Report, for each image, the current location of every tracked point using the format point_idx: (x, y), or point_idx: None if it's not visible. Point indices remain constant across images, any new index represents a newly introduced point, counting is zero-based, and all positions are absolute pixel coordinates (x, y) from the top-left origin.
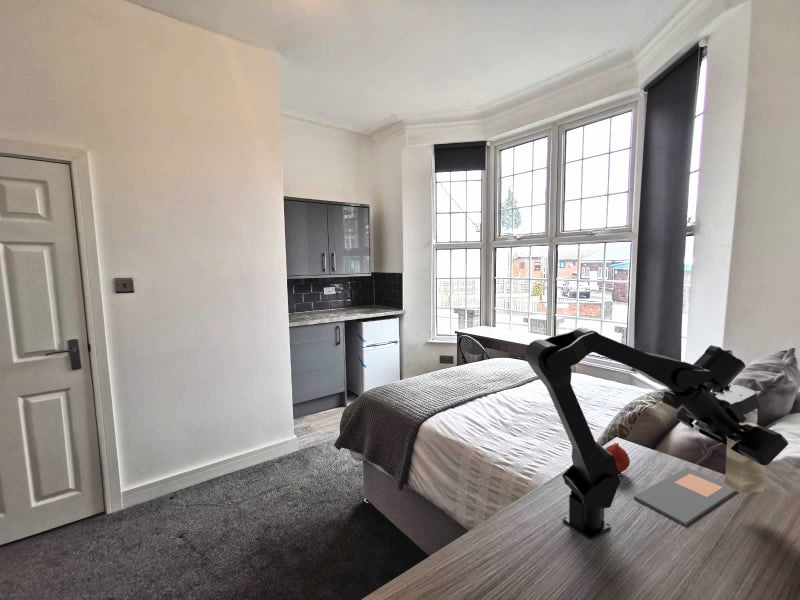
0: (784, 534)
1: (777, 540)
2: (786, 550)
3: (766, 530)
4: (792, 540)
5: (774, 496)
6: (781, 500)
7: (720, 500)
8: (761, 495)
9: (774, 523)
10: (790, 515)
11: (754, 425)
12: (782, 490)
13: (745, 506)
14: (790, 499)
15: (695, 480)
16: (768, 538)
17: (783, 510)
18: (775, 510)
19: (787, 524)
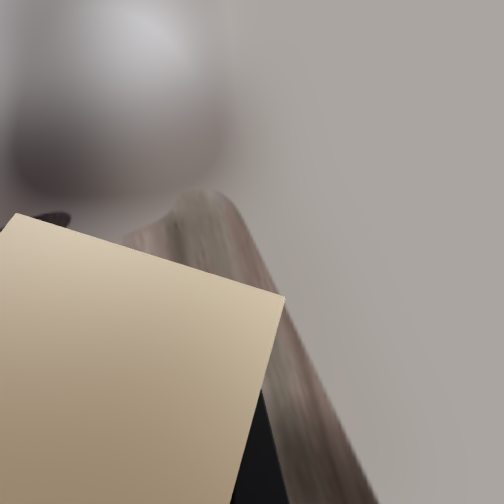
0: (313, 406)
1: (323, 462)
2: (358, 493)
3: (286, 437)
4: (335, 417)
5: (214, 236)
6: (230, 241)
7: None
8: (196, 259)
9: (276, 373)
10: (272, 292)
11: (93, 300)
12: (211, 194)
13: None
14: (237, 219)
15: None
16: (310, 479)
17: (254, 284)
18: None
19: (291, 344)
